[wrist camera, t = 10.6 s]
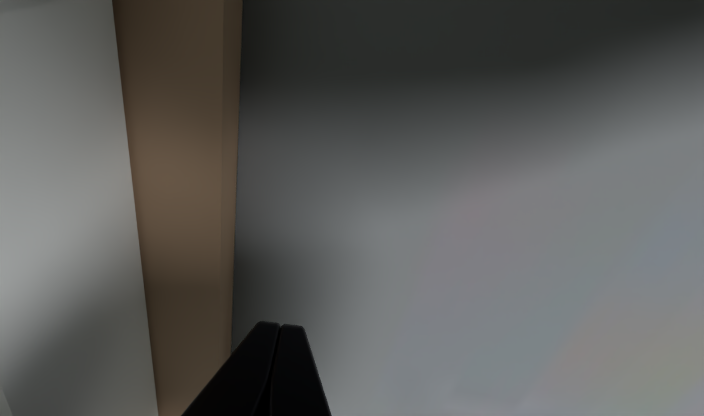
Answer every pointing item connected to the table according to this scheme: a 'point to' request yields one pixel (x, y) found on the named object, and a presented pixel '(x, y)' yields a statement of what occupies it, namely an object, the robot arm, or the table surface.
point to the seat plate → (183, 179)
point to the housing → (68, 219)
